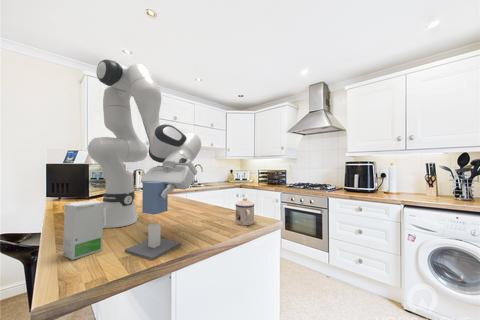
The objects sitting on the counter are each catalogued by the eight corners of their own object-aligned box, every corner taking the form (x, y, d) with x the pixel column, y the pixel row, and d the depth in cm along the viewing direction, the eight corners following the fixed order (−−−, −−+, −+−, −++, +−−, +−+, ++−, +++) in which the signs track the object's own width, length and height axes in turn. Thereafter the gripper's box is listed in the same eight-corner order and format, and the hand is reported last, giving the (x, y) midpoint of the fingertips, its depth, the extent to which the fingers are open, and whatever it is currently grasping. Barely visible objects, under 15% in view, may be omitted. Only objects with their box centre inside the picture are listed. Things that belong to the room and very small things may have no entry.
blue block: (142, 212, 64) (142, 182, 64) (155, 209, 69) (156, 181, 69) (154, 214, 62) (154, 183, 62) (167, 210, 67) (167, 181, 67)
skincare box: (71, 261, 57) (72, 206, 57) (61, 255, 60) (62, 203, 60) (103, 249, 64) (104, 201, 64) (93, 245, 67) (93, 199, 67)
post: (124, 252, 62) (125, 227, 63) (155, 238, 73) (156, 217, 73) (152, 260, 57) (152, 233, 57) (181, 245, 68) (181, 222, 68)
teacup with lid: (233, 220, 98) (233, 196, 98) (251, 219, 100) (251, 196, 100) (238, 228, 86) (238, 201, 86) (258, 227, 88) (258, 200, 88)
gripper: (150, 160, 76) (126, 188, 67) (193, 159, 68) (172, 192, 59) (159, 171, 80) (138, 199, 71) (201, 172, 72) (182, 204, 63)
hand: (153, 196), depth 65 cm, fingers closed on blue block, 5 cm apart
